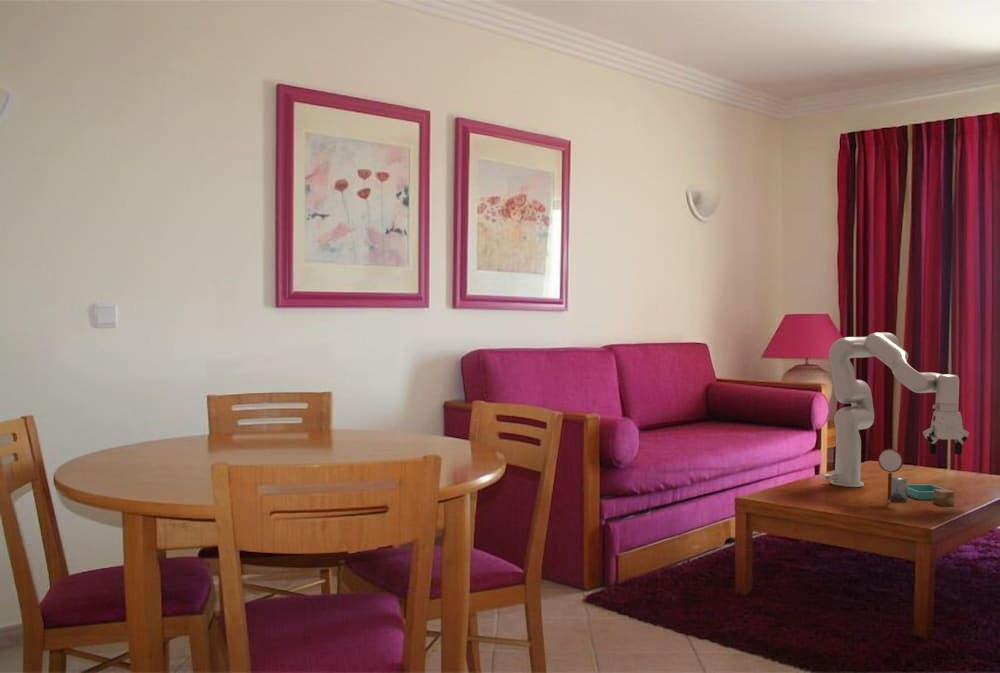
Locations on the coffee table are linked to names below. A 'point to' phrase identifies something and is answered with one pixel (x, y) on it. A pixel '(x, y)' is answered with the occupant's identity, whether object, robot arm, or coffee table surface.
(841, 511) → the coffee table surface
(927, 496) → the teal tray
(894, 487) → the metal tin
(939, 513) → the coffee table surface
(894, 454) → the magnifying glass
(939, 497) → the walnut block
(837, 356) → the robot arm
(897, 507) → the coffee table surface
